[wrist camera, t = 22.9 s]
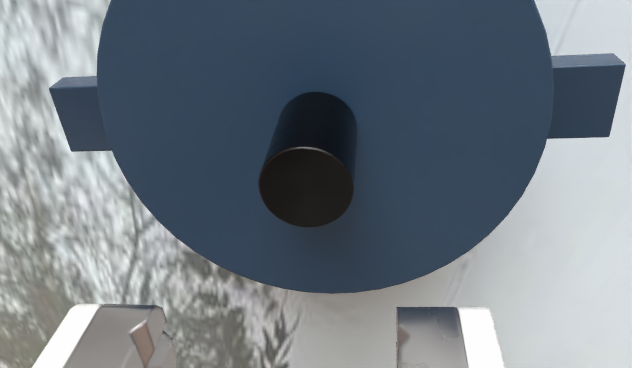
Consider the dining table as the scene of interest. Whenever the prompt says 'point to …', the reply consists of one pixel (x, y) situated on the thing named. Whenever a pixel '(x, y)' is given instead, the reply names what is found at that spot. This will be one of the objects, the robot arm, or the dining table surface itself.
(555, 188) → the dining table surface
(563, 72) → the pot
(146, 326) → the robot arm
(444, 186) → the lid
